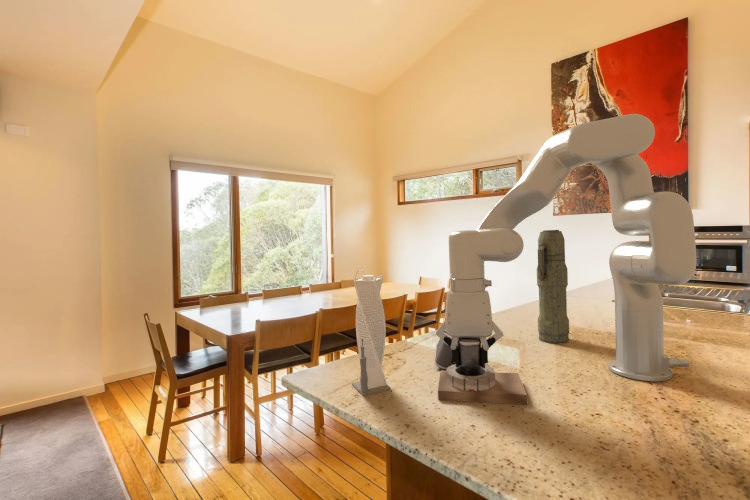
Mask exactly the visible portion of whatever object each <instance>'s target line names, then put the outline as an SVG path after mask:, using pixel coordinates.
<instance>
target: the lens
mask: <svg viewBox="0 0 750 500" xmlns="http://www.w3.org/2000/svg"><path fill="white" fill-rule="evenodd" d="M457 343H458V353H459V373H460V374H461V375H464V376H479V375H481V374H482V367H481V345H482V343H481V340H480V337H459V338H458V342H457Z"/></svg>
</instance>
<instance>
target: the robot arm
mask: <svg viewBox="0 0 750 500" xmlns="http://www.w3.org/2000/svg"><path fill="white" fill-rule="evenodd" d="M654 125H655V124H654V123H653V122H652V121H651V119H650V118H648V117H647V116H644V115H643V114H639V113H629V114H625V115H624V114H623V115H620V116H619V115H618V116H614V117H609V118H604V119H598V120H595V121H594V120H593V121H587V122H584V123H580V124H576V125H574V126H572V127H569V128H567V129H565V130H563V131H560V132H557V133H556V134H553V135H552V136H550V137H549V138H548V139H547V140H546V141H545V142H544V143H543V145H542V146H541V147H540V149H539V151H537V153H536V155H535V156H534V158H533V159H532V161H531V162H530V164H529V165H528V167H527V168H526V170H525V171H524V172H523V174H522V175H521V176H520V178H519V180H518V181H517V182H516V184H515V185H514V186H513V187H512V188H511V189H510V190H508V192H506V194H505V195H504V196H503V197H502V198H501V199H500V200H499V201H498V202H497V203H496V204H495V205H494V207H492V208H491V210H490V211H488V213H487V214H486V216H485V217H484V218H483V220H482V222H481V223H480V225H479V226H478V227H477V229H476V230H473V229H472V230H471V229H469V230H455V231H452V232H451V233H450V234H449V236H448V257H449V258H448V259H449V260H448V261H449V285H450V287H449V289H450V290H448V291H447V292H446V299H445V320H443V322H442V324H441V325H440V326H439V327H438V329H436V331H435V335H436V336H437V337H438V338H439V339H440V338H441V339H442V340H444V342H445V343H446V344H447V345H448V346H450V347H451V349H452V360H451V362H452V363H455V364H456V367H457V368H458V367H459V353H458V347H457V342H458V338H459V337H480V340H481V367H482V368H485V365H486V364H488V363H489V353H488V352H489V349H490V348H491V347H492V346H493V345H494V344H495V343H496V342H497V341H499V340H500V339H501V338H503V337H504V332H503V331H502V330H501V328H499V326H498V325H497V324H496V323H495V322H494V320H493V314H492V313H493V312H492V305H491V298H490V294H489V291H488V290H486V288H488V287H492V286H493V285H492V282H493V281H492V279H489V280H488V279H487V278H486V277H485V262H499V263H508V262H512V261H514V260H515V259H517V258H519V257H520V256H521V254H522V252H523V251H524V240H523V238H522V236H521V234H519V233H518V232H517V231H515V228H516V227H517V226H518V225H519V224H520V223H522V222H523V221H524V220H526V219H527V218H529V217H530V216H533V215H535V214H536V213H539V211H541V210H543V209H544V208H545V207H548V205H550V204H551V202H552V201H553V200H554V198H555V196H556V195H557V193H558V192H559V190H560V189H561V188H562V186H563V185H564V183H565V181H566V180H567V179H568V177H569V176H570V175H571V173H572V171H573V170H574V169H575V168H577V167H580V166H584V165H587V164H592V165H593V166H595V167H596V168H597V169H599V171H600V172H602V174H603V175H604V177H605V179H606V180H607V181H606V183H607V186H608V191H609V201H610V202H609V203H610V210H611V211H610V213H611V222H612V227H613V228H614V229H615V231H616V232H617V233H619V234H620V235H625V236H631V237H632V236H637V237H639V236H640V237H641V236H647V237H648V236H649V238H650V240H633V241H632V240H631V241H625V242H622V243H621V244H618V245H617V246H615V247H614V249H612V251H611V252H610V255H609V259H608V261H609V263H608V264H609V265H608V266H609V271H610V273H611V277H612V282H613V292H614V317H615V318H614V321H615V324H614V325H615V326H614V327H615V328H614V329H615V359H613V360H610V361H609V363H608V370H610V371H611V372H612V373H613V374H616V375H619V376H621V377H624V378H628V379H633V380H637V381H646V382H663V381H669V380H671V379H672V378H673V376H674V373H673V370H672V369H673V368H674V367H675V368H676V367H678V368H689V367H690V362H689V360H688V359H687V358H676V356H667V355H666V354H665V339H664V337H665V334H664V333H665V331H664V330H665V329H664V328H665V327H664V323H665V322H664V297H663V295H662V292H661V289H660V287H659V286H658V285H664V286H680V285H684V284H686V283H687V282H689V281H690V280H691V279H692V277H693V276H694V275H695V273H696V269H697V244H696V234H695V223H694V222H695V221H694V215H693V210H692V208H691V206H690V204H689V202H688V201H687V200H686V198H685V197H683V196H682V195H681V194H679V193H676V192H673V191H657V192H655V191H654V187H653V181H652V175H651V170H650V168H649V166H648V164H647V162H646V161H645V160H644V159H643V158H642V157H641V156H640V155H639V154H641V153H643V152H644V151H646V150H647V149H648V148H649V147H650V146H651V144H652V143H653V142H654V139H655V134H656V130H655V126H654ZM445 330H446V332H447V334H448V335H449V336H452V339H451V338H450V337H449V336H447V335H446V334H445V333H444V331H445ZM493 332H494V333H493Z"/></svg>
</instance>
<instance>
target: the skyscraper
mask: <svg viewBox="0 0 750 500" xmlns="http://www.w3.org/2000/svg"><path fill="white" fill-rule="evenodd" d="M361 271H362V273H361V278H359V279H357V275H358V274H359V272H361ZM364 274H365V269H364V268H363V267H362V268H359V269H358V270H356V271H355V274H354V277H353V285H354V288H355V291H356V295H357V301H356V309H355V333H356V342H357V343H356V344H357V350H358V351H357V352H358V355H359V357H358V358H359V364H360V365H359V366H360V376H359V379H358V380H359V381H355V382H352V383H351V385H352V386H353V387H354V388H355V390H356V391H357V392H358V393H359V394H360V395H361V396H368V395H372V394H376V393H381V392H385V391H390V390H391V389H392V388H391V386H390V385H388V382H387V380H386V379H387V378H386V377H385V373H384V371H383V368H382V367H383V366H382V365H383V360H384V357H385V348H386V347H385V346H386V336H387V335H386V333H387V330H386V328H387V326H386V316H385V310H384V305H383V301H382V297H381V289H382V284H383V280H384V276H383V275H382V274H380V275H377V276H374V275H372V274H367V275H366V274H365V275H364Z"/></svg>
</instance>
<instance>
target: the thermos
mask: <svg viewBox="0 0 750 500" xmlns="http://www.w3.org/2000/svg"><path fill="white" fill-rule="evenodd" d="M565 243H566V242H565V236H564V235H563V232H562V231H561V230H559V229H549V230H547V229H545V230H542V231H540V233H539V236H538V238H537V267H536V285H537V287H538V303H539V304H538V307H539V308H538V309H539V313H538V314H539V315H538V318H537V329H538V330H537V332H538V340H539V341H541V342H542V343H547V344H554V345H556V344H557V345H563V344H567V343H569V341H570V339H569V334H570V320H569V317H568V311H567V310H568V308H567V307H568V305H567V304H568V303H567V300H568V299H567V287H568V286H569V285H568V283H569V281H568V280H569V279H568V277H569V276H568V273H569V272H568V266H567V264H566V250H565V249H566V247H565V246H566V245H565Z"/></svg>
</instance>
